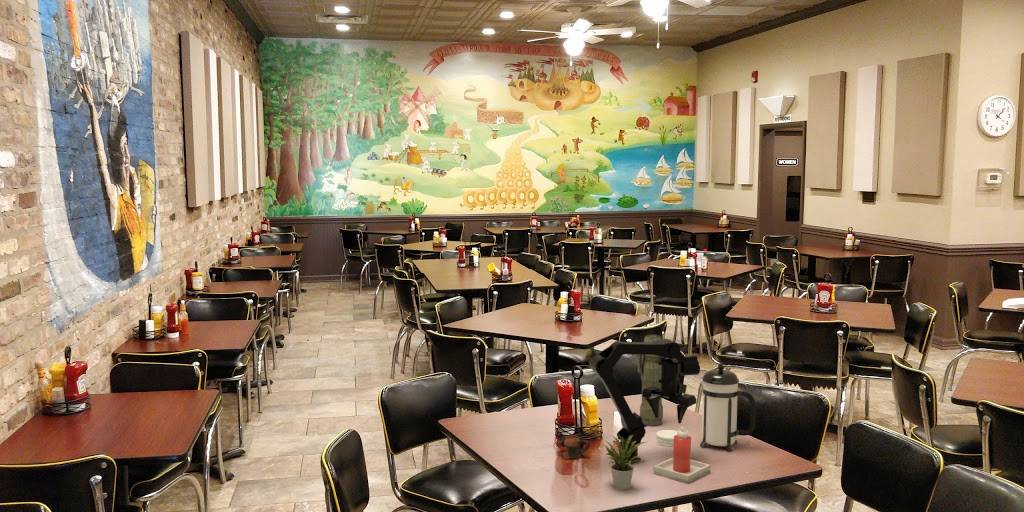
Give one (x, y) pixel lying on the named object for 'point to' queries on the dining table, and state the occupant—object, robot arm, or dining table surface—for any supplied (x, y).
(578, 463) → the dining table surface
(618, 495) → the dining table surface
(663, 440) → the cream round disc
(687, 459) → the squeeze bottle
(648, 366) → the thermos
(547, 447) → the dining table surface
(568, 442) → the pottery mug
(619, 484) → the house plant
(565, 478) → the dining table surface
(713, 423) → the coffee press
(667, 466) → the tray
